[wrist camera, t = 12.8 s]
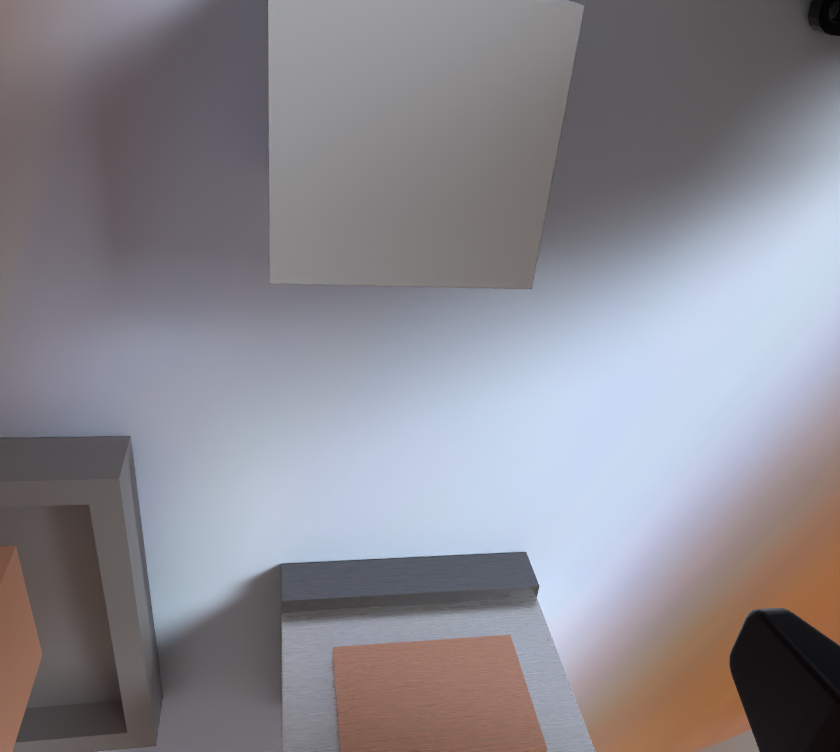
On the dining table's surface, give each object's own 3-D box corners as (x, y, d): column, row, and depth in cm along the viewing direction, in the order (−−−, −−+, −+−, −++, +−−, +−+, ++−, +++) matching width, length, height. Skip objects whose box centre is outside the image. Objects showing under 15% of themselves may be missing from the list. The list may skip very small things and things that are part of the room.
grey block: (487, -26, 16) (584, 5, 11) (460, 183, 18) (531, 289, 13) (269, -48, 15) (268, -25, 10) (270, 175, 17) (269, 283, 12)
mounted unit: (525, 552, 25) (625, 806, 18) (495, 687, 29) (568, 945, 22) (281, 564, 24) (284, 847, 17) (281, 705, 27) (283, 988, 20)
